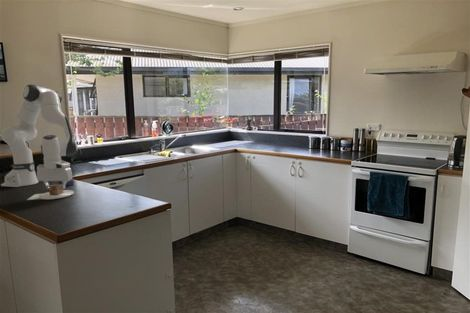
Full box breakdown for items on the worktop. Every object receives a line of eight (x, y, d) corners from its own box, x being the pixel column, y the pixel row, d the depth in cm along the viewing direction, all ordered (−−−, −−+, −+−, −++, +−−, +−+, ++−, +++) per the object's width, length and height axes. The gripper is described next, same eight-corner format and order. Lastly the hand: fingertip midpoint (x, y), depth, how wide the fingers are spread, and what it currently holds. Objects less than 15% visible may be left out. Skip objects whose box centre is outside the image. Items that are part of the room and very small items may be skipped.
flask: (72, 184, 234) (70, 168, 232) (74, 185, 232) (72, 168, 230) (58, 187, 226) (56, 170, 225) (60, 188, 225) (58, 171, 223)
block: (49, 195, 203) (48, 186, 202) (55, 192, 208) (54, 184, 207) (57, 195, 202) (56, 186, 201) (63, 192, 207) (62, 184, 206)
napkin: (27, 200, 198) (26, 199, 198) (35, 194, 210) (35, 194, 210) (42, 198, 200) (42, 198, 200) (49, 193, 211) (49, 193, 211)
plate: (31, 200, 198) (31, 198, 198) (53, 191, 215) (53, 189, 215) (60, 200, 195) (60, 198, 194) (80, 192, 212) (80, 190, 212)
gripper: (32, 165, 201) (35, 189, 203) (65, 165, 197) (68, 190, 200) (40, 163, 207) (43, 187, 209) (72, 163, 203) (75, 187, 206)
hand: (55, 188), depth 204 cm, fingers open, 8 cm apart
